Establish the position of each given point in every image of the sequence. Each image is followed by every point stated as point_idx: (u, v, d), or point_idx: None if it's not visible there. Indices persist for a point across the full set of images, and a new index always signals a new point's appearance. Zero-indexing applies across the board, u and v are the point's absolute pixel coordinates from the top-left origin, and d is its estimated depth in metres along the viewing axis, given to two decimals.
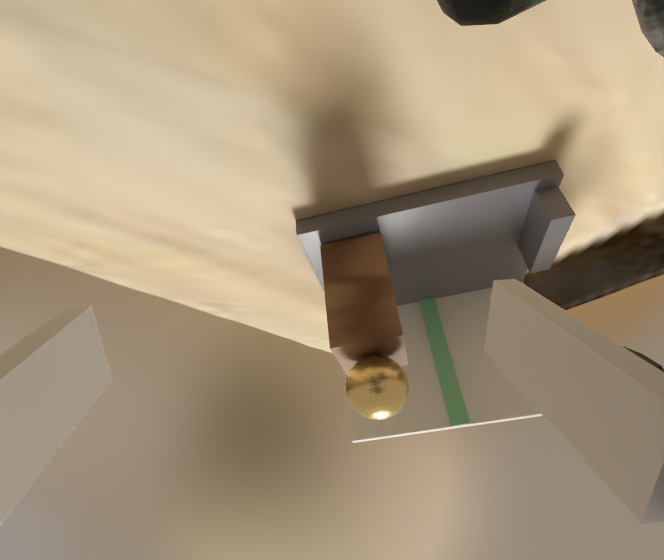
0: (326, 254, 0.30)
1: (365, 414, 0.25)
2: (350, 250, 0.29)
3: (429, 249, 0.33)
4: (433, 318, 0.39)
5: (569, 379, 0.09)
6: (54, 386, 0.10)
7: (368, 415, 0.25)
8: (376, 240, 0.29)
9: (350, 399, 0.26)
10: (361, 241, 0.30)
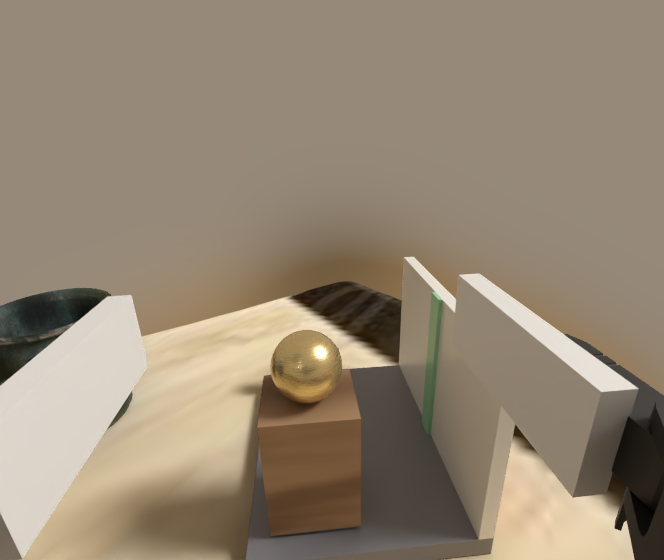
0: None
1: (296, 349, 0.21)
2: None
3: None
4: (425, 405, 0.33)
5: (517, 366, 0.10)
6: (104, 368, 0.10)
7: (296, 346, 0.21)
8: None
9: (292, 373, 0.21)
10: None
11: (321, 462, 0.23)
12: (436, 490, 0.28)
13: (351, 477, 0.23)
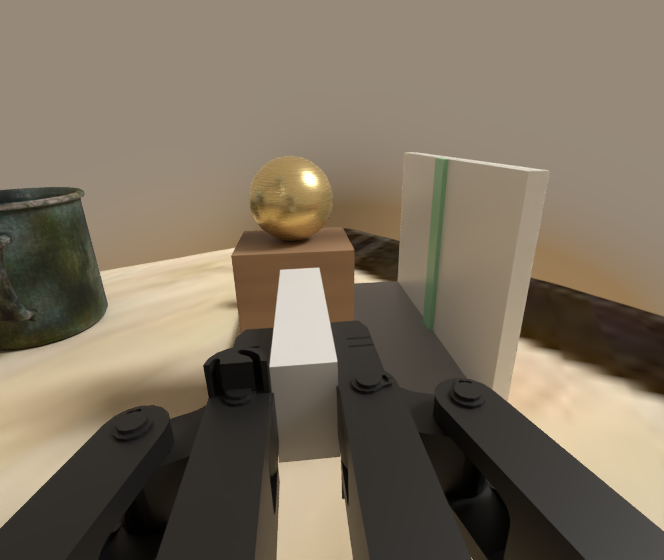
0: None
1: (278, 164, 0.18)
2: None
3: None
4: (427, 298, 0.30)
5: None
6: None
7: (278, 162, 0.18)
8: None
9: (273, 189, 0.18)
10: None
11: None
12: (439, 372, 0.24)
13: None
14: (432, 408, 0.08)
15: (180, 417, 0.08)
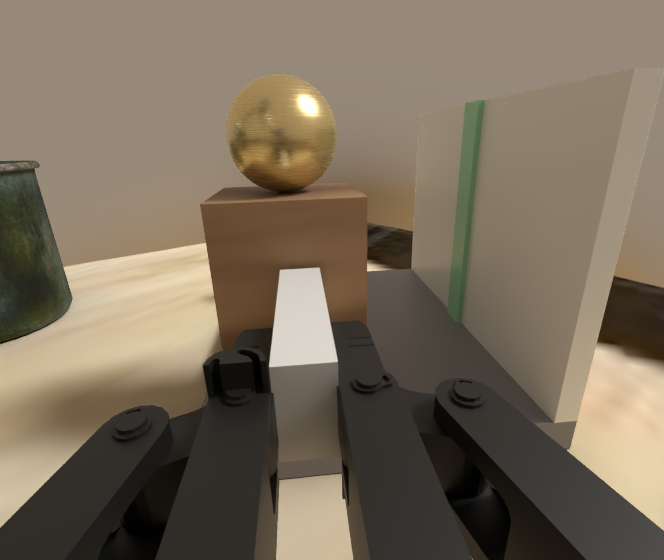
0: None
1: (262, 80, 0.13)
2: None
3: None
4: (453, 282, 0.24)
5: None
6: None
7: (263, 78, 0.13)
8: None
9: (256, 111, 0.13)
10: None
11: None
12: (478, 373, 0.19)
13: (352, 310, 0.15)
14: (432, 408, 0.08)
15: (180, 417, 0.08)
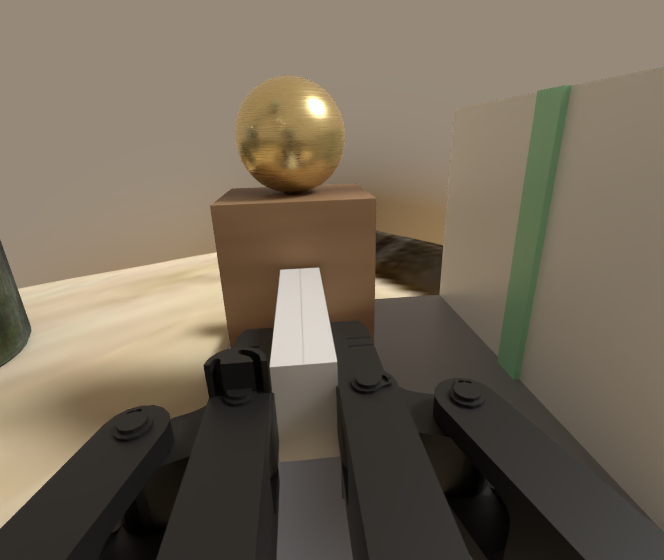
0: None
1: (272, 82, 0.13)
2: None
3: None
4: (510, 327, 0.18)
5: None
6: None
7: (272, 80, 0.14)
8: None
9: (266, 113, 0.13)
10: None
11: None
12: None
13: (360, 310, 0.15)
14: (432, 408, 0.08)
15: (180, 417, 0.08)
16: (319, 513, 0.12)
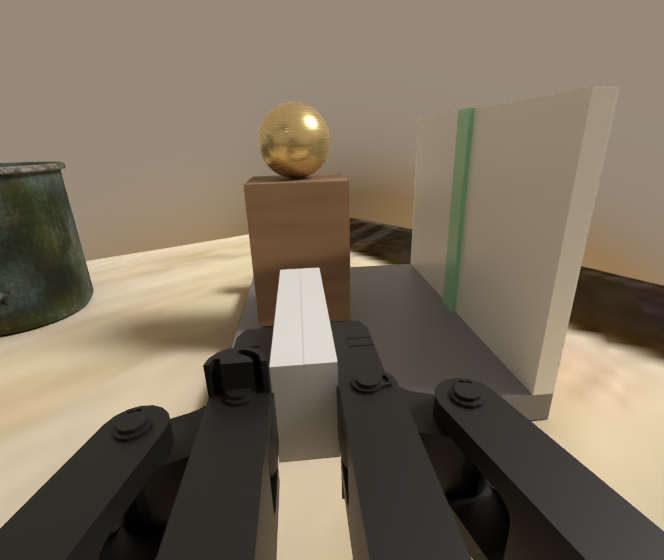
0: None
1: (282, 106, 0.21)
2: None
3: None
4: (448, 275, 0.26)
5: None
6: None
7: (282, 105, 0.21)
8: None
9: (279, 126, 0.21)
10: None
11: (309, 234, 0.22)
12: (468, 354, 0.21)
13: (340, 256, 0.23)
14: (432, 408, 0.08)
15: (180, 417, 0.08)
16: None
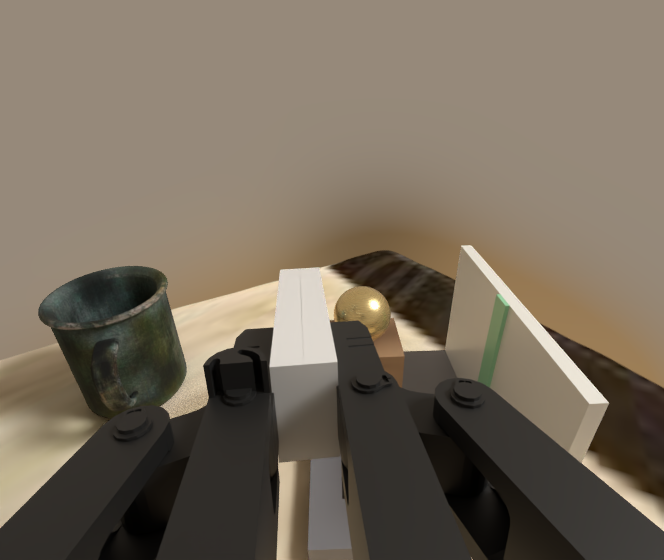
0: None
1: (356, 301, 0.27)
2: None
3: None
4: None
5: None
6: None
7: (356, 299, 0.27)
8: None
9: (353, 320, 0.27)
10: None
11: None
12: None
13: None
14: (432, 408, 0.08)
15: (180, 417, 0.08)
16: None
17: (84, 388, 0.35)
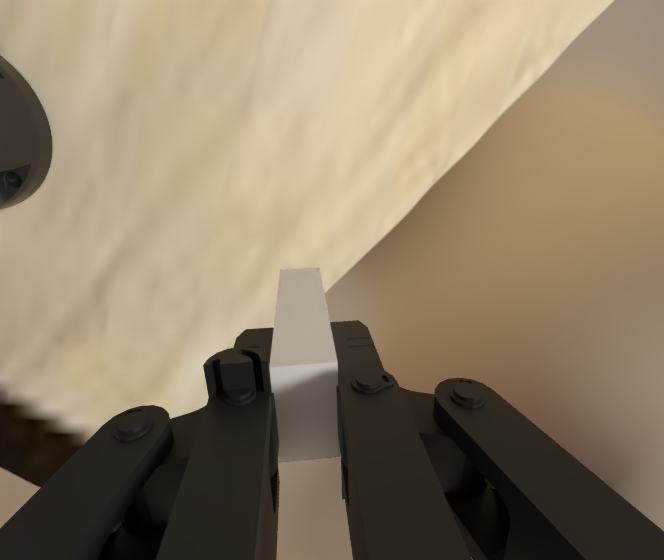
0: None
1: None
2: None
3: None
4: None
5: None
6: None
7: None
8: None
9: None
10: None
11: None
12: None
13: None
14: (432, 408, 0.08)
15: (180, 417, 0.08)
16: None
17: None
